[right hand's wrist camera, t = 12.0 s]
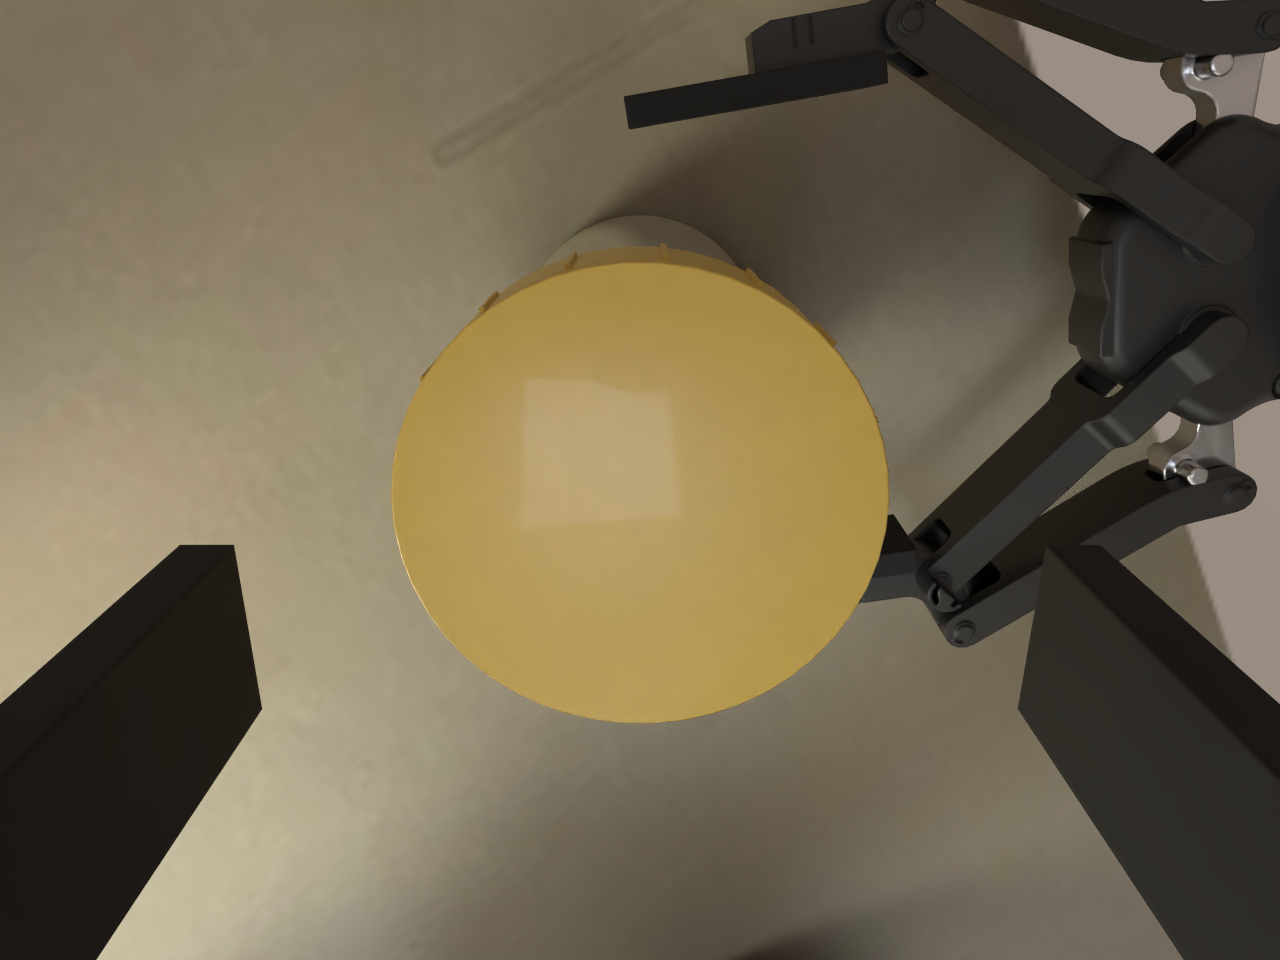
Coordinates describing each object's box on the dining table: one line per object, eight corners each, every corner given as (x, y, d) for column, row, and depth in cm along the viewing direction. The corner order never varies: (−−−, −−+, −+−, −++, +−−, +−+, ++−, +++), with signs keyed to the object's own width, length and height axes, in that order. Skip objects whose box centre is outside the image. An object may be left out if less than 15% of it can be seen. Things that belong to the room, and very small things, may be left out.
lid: (528, 152, 17) (511, 155, 15) (952, 373, 19) (994, 405, 16) (352, 559, 20) (317, 611, 18) (730, 721, 22) (740, 789, 19)
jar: (584, 170, 31) (531, 202, 16) (800, 283, 32) (942, 412, 17) (486, 387, 33) (359, 592, 18) (689, 483, 35) (726, 747, 20)
